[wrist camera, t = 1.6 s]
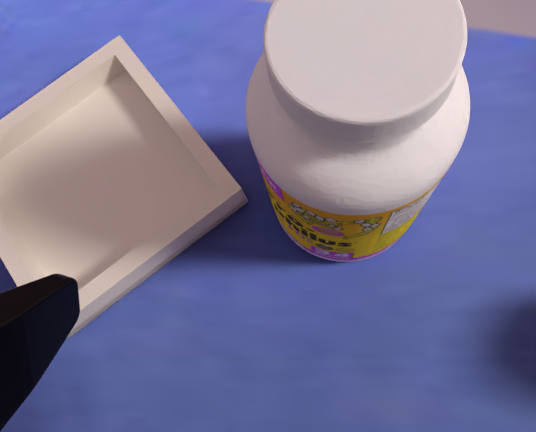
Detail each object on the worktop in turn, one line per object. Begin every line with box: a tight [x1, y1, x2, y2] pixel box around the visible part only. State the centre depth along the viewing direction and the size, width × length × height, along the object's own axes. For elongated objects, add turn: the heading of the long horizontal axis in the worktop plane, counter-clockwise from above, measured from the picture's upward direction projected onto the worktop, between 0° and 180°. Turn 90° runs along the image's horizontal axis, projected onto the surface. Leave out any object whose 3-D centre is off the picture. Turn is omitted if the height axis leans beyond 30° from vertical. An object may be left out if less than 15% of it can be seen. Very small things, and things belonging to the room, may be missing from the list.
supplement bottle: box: [245, 0, 470, 262], centre depth 18 cm, size 7×7×13 cm
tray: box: [0, 35, 248, 338], centre depth 24 cm, size 11×11×2 cm
